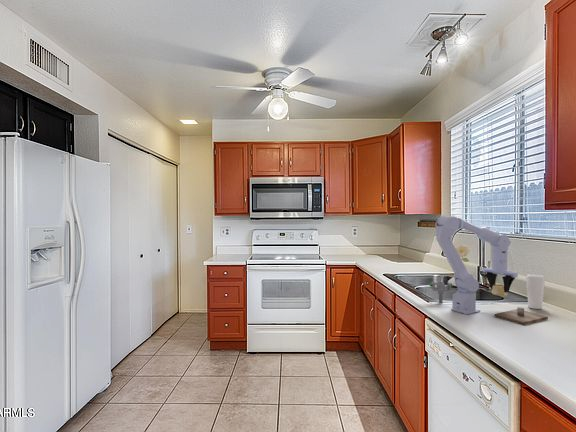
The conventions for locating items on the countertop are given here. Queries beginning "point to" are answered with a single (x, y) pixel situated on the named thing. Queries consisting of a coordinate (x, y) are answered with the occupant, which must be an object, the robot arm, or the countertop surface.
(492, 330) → the countertop surface
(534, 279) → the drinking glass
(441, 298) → the mechanical component
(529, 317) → the hub board
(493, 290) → the brass collar
